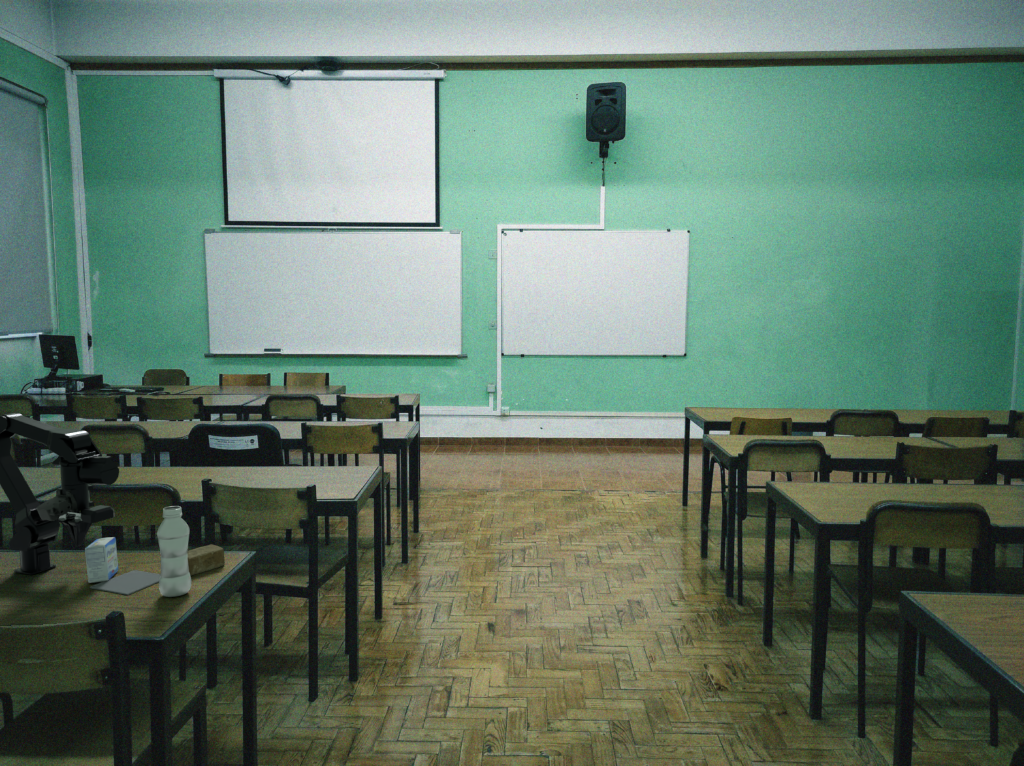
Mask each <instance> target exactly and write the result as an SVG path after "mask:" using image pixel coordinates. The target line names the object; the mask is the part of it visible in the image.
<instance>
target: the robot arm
mask: <svg viewBox="0 0 1024 766" xmlns="http://www.w3.org/2000/svg"><path fill="white" fill-rule="evenodd" d="M14 436H20V437H23V438H27V439H29V440H31V441H35V442H37V443H39V444H43V445H44V446H46V447H47V448H48V451H50V452H51V453H53V454H55V455H56V456H57V458H56V459H54V460H53V461H52V462H51V464H52V465H53V466H59V469H60V470H59V471H60V487H59V488H57V489H56V491H55V496H53V497H52V498H49V499H48V500H46V501H44V502H43V503H40V502H39V501H38V499H37V497H36V495H35V494H34V493H33V491H32V488H31V487H30V485H29V483H27V480H26V478H25V477H24V475H23V474H22V471H21V470H20V467H19V466H18V465H17V462H16V461H15V459H14V458H13V455H12V453H11V452H12V446H13V442H12V439H11V438H13V437H14ZM112 459H113V458H112V456H111V455H106V456H103V454H102V453H101V451H100V449H99V448H98V447H97V445H96V444H95V442H94V441H93V439H92V437H91V436H90V433H89V432H88V431H86V430H82V429H76V428H61V427H56V426H54V425H52V424H47V423H44V422H41V421H39V420H36V419H33V418H31V417H28V416H24V415H23V414H21V413H19V412H13V413H6V414H5V413H4V414H1V415H0V487H1V489H2V490H3V492H4V494H5V496H6V497H7V499H8V501H9V503H10V505H11V506H12V508H13V510H14V512H15V513H16V514H15V520H14V521H15V522H14V527H15V529H16V533H15V534H14V535H13V536H12V537H11V538H10V540H9V541H8V545H9V547H10V550H11V551H19V566H20V567H19V568H16V569H14V570H13V572H14V573H18V574H24V575H29V576H33V575H36V574H38V573H42V572H44V571H47V570H48V571H49V570H51V569H53V568H56V567H57V564H54V563H51V552H50V545H49V544H50V543H54V542H56V541H57V537H58V534H59V530H60V527H61V524H63V525H64V526H65V528H66V529H67V531H68V533H69V536H70V538H71V539H72V542H73V543H74V545H75V547H79V546H82V544H83V543H84V540H85V538H86V537H87V534H88V532H89V530H90V528H91V527H92V524H95V523H99V522H102V521H105V520H109V519H112V518H115V509H114V508H113V507H112V506H110V505H104V504H100V505H95V501H92V500H91V499H90V491H92V490H94V485H103V486H110V485H113V484H115V482H116V481H117V480H118V478H119V476H120V468H119V467H118V465H117V463H116V462H114V461H113V460H112Z"/></svg>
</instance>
